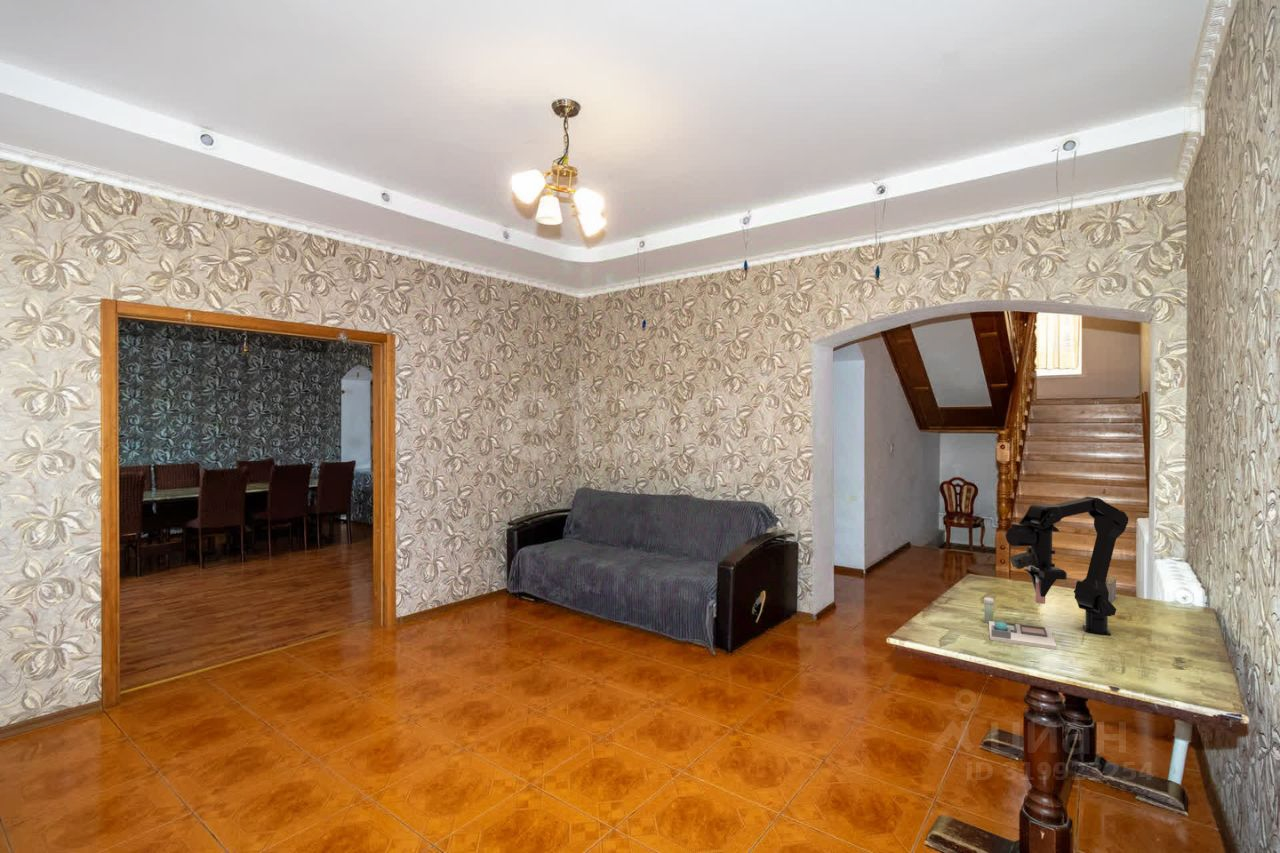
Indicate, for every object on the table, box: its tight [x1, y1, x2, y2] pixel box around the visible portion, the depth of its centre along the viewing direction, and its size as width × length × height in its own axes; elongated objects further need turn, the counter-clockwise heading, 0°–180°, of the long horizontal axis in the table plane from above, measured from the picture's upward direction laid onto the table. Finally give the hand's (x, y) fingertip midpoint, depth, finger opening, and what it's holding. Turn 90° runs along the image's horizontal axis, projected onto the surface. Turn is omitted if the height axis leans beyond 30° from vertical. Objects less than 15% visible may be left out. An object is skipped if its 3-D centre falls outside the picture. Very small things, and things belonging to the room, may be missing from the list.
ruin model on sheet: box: [1105, 572, 1117, 604], centre depth 232 cm, size 11×3×10 cm, turn 134°
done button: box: [994, 621, 1007, 631], centre depth 190 cm, size 3×3×2 cm
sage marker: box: [983, 596, 995, 624], centre depth 206 cm, size 3×3×8 cm
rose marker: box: [1035, 578, 1046, 605], centre depth 193 cm, size 3×3×8 cm
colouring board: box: [988, 620, 1058, 650], centre depth 193 cm, size 17×17×3 cm
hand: (1040, 595), depth 194 cm, fingers closed on rose marker, 3 cm apart
